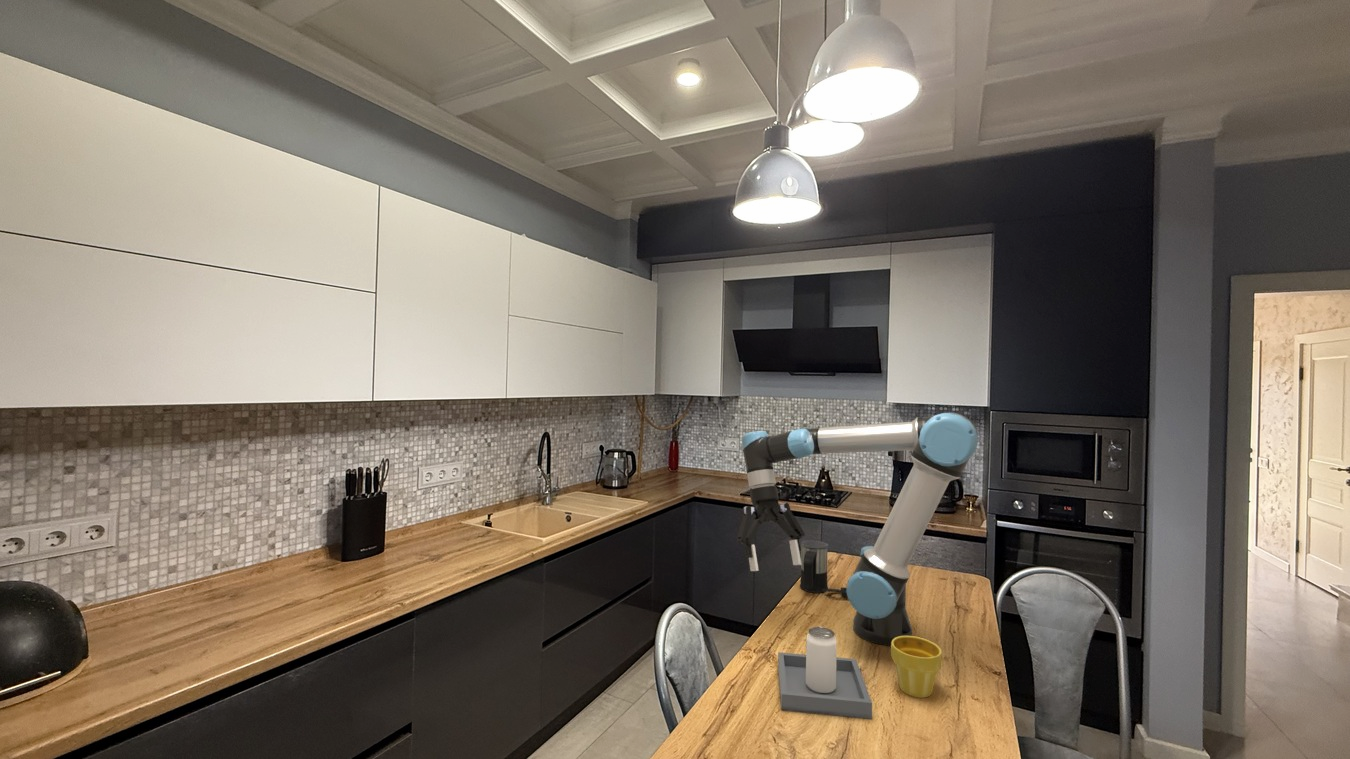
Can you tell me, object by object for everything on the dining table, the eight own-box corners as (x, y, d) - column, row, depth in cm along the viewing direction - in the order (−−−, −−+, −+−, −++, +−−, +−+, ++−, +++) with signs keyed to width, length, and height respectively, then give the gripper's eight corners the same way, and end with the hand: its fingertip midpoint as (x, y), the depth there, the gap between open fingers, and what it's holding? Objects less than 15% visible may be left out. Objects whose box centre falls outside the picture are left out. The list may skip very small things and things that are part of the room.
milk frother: (798, 582, 187) (799, 539, 188) (846, 585, 185) (847, 541, 185) (801, 598, 173) (802, 551, 173) (853, 602, 171) (853, 554, 171)
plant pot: (938, 709, 114) (939, 662, 114) (886, 693, 120) (887, 648, 120) (943, 686, 123) (944, 642, 123) (895, 672, 129) (895, 631, 129)
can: (837, 696, 117) (838, 640, 117) (806, 692, 118) (807, 637, 118) (834, 680, 123) (835, 627, 123) (805, 677, 125) (806, 624, 125)
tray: (855, 672, 128) (855, 658, 128) (871, 719, 110) (872, 702, 110) (778, 665, 131) (778, 652, 131) (781, 710, 113) (781, 694, 113)
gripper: (791, 487, 159) (806, 563, 152) (717, 492, 149) (728, 574, 142) (807, 482, 153) (823, 561, 146) (730, 487, 143) (743, 572, 136)
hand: (776, 568), depth 144 cm, fingers open, 13 cm apart
